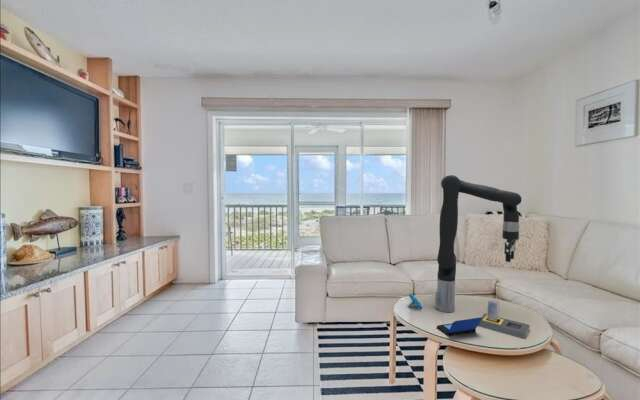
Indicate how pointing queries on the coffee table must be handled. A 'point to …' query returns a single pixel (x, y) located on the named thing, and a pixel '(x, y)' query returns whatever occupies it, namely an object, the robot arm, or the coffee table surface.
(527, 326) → the plate with square holes
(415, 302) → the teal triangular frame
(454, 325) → the handheld game console
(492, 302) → the brushed steel peg
